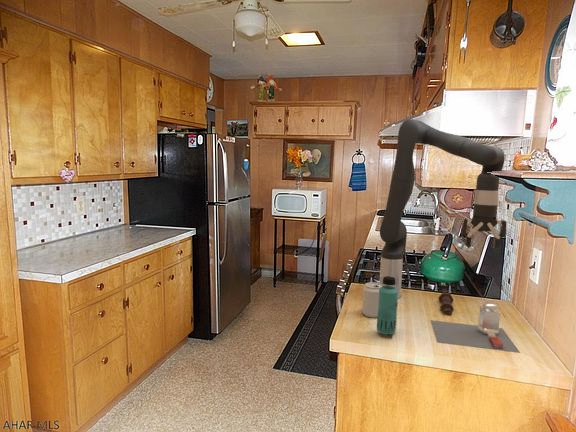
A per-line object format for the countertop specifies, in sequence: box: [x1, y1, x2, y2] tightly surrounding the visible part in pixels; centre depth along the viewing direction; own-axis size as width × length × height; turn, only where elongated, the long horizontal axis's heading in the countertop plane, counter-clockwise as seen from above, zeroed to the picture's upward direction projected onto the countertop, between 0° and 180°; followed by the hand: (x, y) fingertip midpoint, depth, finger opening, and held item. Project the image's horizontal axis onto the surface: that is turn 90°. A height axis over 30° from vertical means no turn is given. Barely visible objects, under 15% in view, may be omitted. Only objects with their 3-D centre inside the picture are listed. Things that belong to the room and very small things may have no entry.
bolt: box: [438, 292, 455, 316], centre depth 151 cm, size 6×5×15 cm
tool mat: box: [429, 319, 521, 354], centre depth 127 cm, size 24×18×1 cm
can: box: [361, 282, 382, 319], centre depth 144 cm, size 8×8×12 cm
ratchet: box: [477, 322, 503, 349], centre depth 125 cm, size 6×15×5 cm, turn 166°
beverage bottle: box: [376, 276, 399, 335], centre depth 127 cm, size 6×7×20 cm
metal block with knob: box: [478, 301, 501, 330], centre depth 129 cm, size 5×5×8 cm
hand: (481, 247), depth 136 cm, fingers open, 8 cm apart
